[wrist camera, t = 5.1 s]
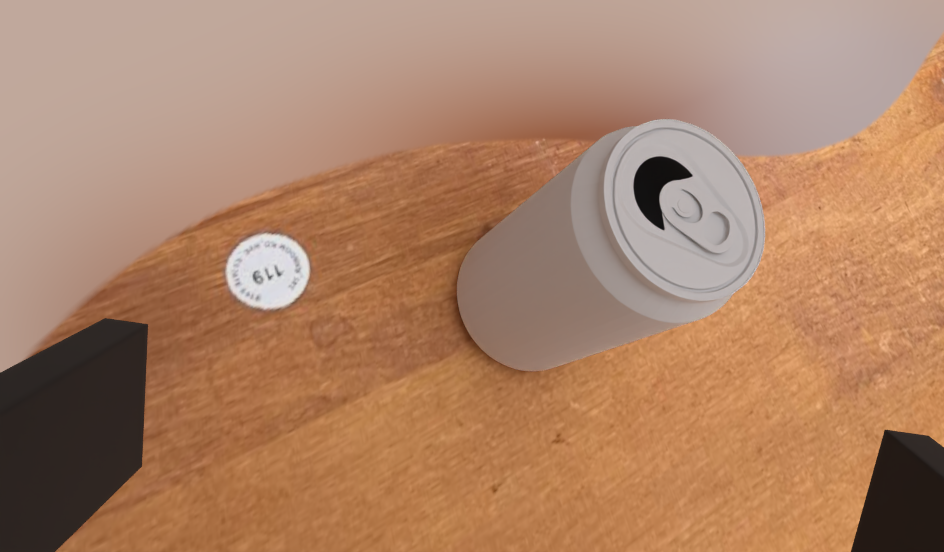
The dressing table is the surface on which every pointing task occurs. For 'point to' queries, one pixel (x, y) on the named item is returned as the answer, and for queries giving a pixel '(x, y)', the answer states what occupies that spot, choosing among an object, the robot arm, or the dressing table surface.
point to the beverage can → (614, 248)
